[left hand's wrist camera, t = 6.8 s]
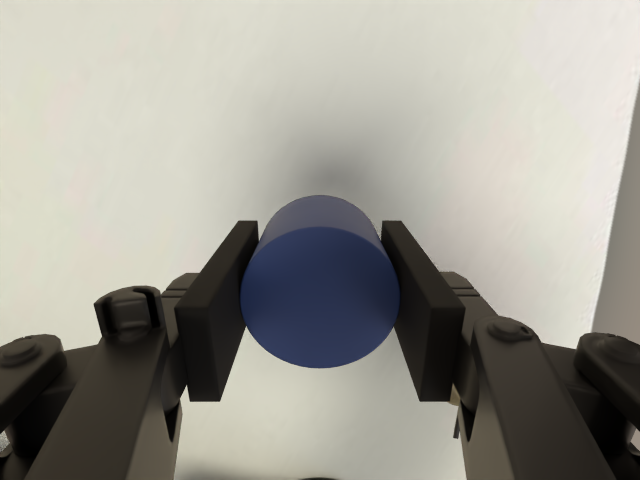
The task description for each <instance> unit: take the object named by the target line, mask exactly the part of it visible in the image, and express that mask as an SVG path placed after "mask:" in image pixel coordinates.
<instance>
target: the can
mask: <svg viewBox="0 0 640 480" xmlns="http://www.w3.org/2000/svg"><path fill="white" fill-rule="evenodd" d="M400 298H401V292H400V284H399V281H398V277H397V274H396V272H395V270H394V268H393V266H392V264H391V261H390V259H389V257H388V255H387V253H386V251H385V249H384V247H383V245H382V243H381V241H380V238H379V236H378V234H377V232H376V230H375V228H374V226H373V224H372V223H371V221H370V220H369V218H368V217H367V216H366V215H365V214H364V213H363V212H362V211H361V210H360V209H359V208H357V207H356V206H354V205H353V204H351V203H349V202H347V201H345V200H343V199H340V198H337V197H332V196H325V195H315V196H308V197H303V198H300V199H297V200H295V201H293V202H291V203H289V204H287V205H286V206H284V207H282V208H281V209H280V210H279V211H278V212H277V213H276V214H275V215H274V216H273V217H272V218H271V220H270V221H269V223H268V224H267V226H266V228H265V230H264V232H263V234H262V236H261V239H260V241H259V243H258V245H257V247H256V249H255V251H254V253H253V255H252V257H251V260H250V262H249V264H248V266H247V268H246V270H245V272H244V274H243V278H242V281H241V285H240V293H239V299H240V308H241V313H242V316H243V319H244V322H245V324H246V326H247V328H248V330H249V331H250V333H251V335H252V336H253V337H254V339H255V340H256V341H257V342H258V343H259V344H260V345H261V346H262V347H263V348H264V349H265V350H267V351H268V352H269V353H271V354H272V355H274V356H276V357H277V358H279V359H281V360H283V361H286V362H288V363H291V364H294V365H298V366H302V367H308V368H332V367H338V366H342V365H346V364H349V363H352V362H354V361H357V360H359V359H361V358H363V357H365V356H366V355H368V354H369V353H371V352H372V351H373V350H375V349H376V348H377V347H378V346H379V345H380V344H381V343H382V342H383V341H384V340H385V339H386V338H387V336H388V335H389V333H390V332H391V330H392V328H393V326H394V324H395V322H396V319H397V316H398V313H399V308H400Z"/></svg>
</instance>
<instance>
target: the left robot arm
mask: <svg viewBox="0 0 640 480" xmlns="http://www.w3.org/2000/svg"><path fill="white" fill-rule="evenodd" d="M258 243H259V237H258V222H257V221H238V222H237V224H236V225H235V226H234V228H233V229H232V230H231V232H230V233H229V234H228V236H227V237H226V238H225V240H224V241H223V242H222V244H221V245H220V246H219V248H218V249H217V250H216V252H215V253H214V254H213V256H212V257H211V258H210V260H209V261H208V262H207V264H206V265H205V267H204V268H203V269H202V271H201V272H200V273H185V274H184V275H182V276H180V277H178V278H177V279H175V280H173V281H172V283H171V284H170V285H169V286H168V287H167V288H166V291H164V292H163V293H162V294H160V291H159V290H158V289H157V288H155V287H151V286H132V287H126V288H122V289H119V290H116V291H113V292H110V293H108V294H106V295H104V296H103V297H101V298H99V299H98V300H97V301H96V302H95V303H94V308H95V311H96V315H97V319H98V323H99V326H100V330H101V334H102V338H101V340H100V341H99V343H98V344H97V345H93V346H88V347H83V348H77V349H72V350H67V351H64V350H63V346H62V343H61V340H60V339H59V338H58V337H56V336H55V335H48V334H42V335H31V336H26V337H25V338H23V337H22V338H19V339H16V340H14V341H12V342H10V343H8V344H6V345H3V346H1V347H0V434H1V433H2V432H3V431H5V433H6V435H7V438H8V440H9V442H10V444H9V445H8V446H7V447H6V448H5V449H4V450H3V451H2V452H1V453H0V480H173V479H174V472H175V464H176V457H177V450H178V443H179V436H180V428H181V421H182V407H181V402H180V397H181V395H182V393H183V391H184V389H185V387H186V385H187V388H188V393H189V399H190V402H220V400H221V397H222V394H223V391H224V388H225V386H226V383H227V380H228V377H229V374H230V371H231V368H232V365H233V362H234V359H235V356H236V354H237V351H238V348H239V345H240V342H241V339H242V336H243V333H244V330H245V327H246V324H245V322H244V319H243V316H242V313H241V308H240V299H239V293H240V285H241V281H242V278H243V274H244V272H245V270H246V268H247V266H248V264H249V262H250V260H251V257H252V255H253V253H254V251H255V249H256V247H257V245H258ZM381 243H382V245H383V247H384V249H385V251H386V253H387V255H388V257H389V259H390V261H391V264H392V266H393V268H394V270H395V272H396V274H397V277H398V281H399V284H400V292H401V298H400V308H399V313H398V316H397V319H396V322H395V324H394V328H395V331H396V334H397V337H398V340H399V343H400V346H401V348H402V351H403V354H404V357H405V360H406V363H407V366H408V369H409V372H410V375H411V378H412V380H413V383H414V386H415V389H416V392H417V395H418V398H419V401H420V402H450V398H451V392H452V386H453V384H454V386H455V388H456V390H457V392H458V394H459V396H460V402H459V407H458V413H457V418H456V424H455V429H454V436H453V438H457V439H458V437H459V431H460V435H461V442H462V449H463V456H464V463H465V471H466V478H467V480H640V451H639V450H638V449H637V448H636V447H635V446H634V445H633V444H632V443H631V442H630V441H631V439H632V437H633V435H634V432H635V430H636V428H637V429H638V430H639V431H640V345H639V344H636V343H634V342H632V341H629V340H628V339H626V338H624V337H621V336H615V335H613V334H605V333H596V332H595V333H587V334H584V335H583V336H581V337H580V339H579V342H578V345H577V349H571V348H566V347H561V346H555V345H550V344H545V343H541V341H540V339H539V337H538V336H537V334H536V333H535V332H534V331H533V330H532V329H531V328H529V327H528V326H526V325H525V324H523V323H521V322H519V321H516V320H514V319H511V318H507V317H502V316H498V315H497V313H496V312H495V311H494V310H493V309H492V308H491V307H490V305H489V304H488V303H487V302H486V301H485V300H484V299H483V297H480V294H479V293H478V292H477V291H476V289H474V287H473V286H472V285H471V284H470V283H469V281H468V280H467V279H465V278H464V277H462V276H460V275H458V274H457V273H455V272H439V271H438V270H437V268H436V267H435V266H434V264H433V263H432V262H431V260H430V259H429V257H428V256H427V255H426V253H425V252H424V251H423V249H422V248H421V247H420V245H419V244H418V243H417V241H416V240H415V239H414V237H413V236H412V235H411V233H410V232H409V231H408V229H407V228H406V227H405V225H404V224H403V223H402V221H382V233H381Z"/></svg>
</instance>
